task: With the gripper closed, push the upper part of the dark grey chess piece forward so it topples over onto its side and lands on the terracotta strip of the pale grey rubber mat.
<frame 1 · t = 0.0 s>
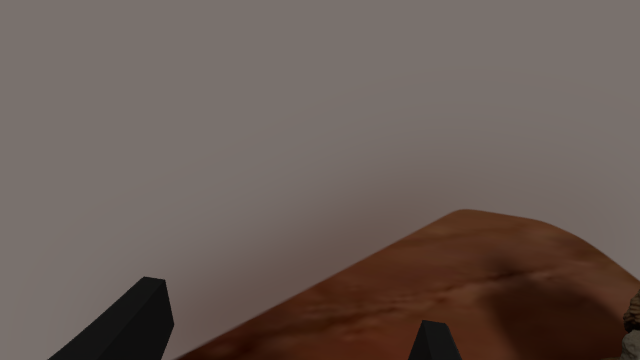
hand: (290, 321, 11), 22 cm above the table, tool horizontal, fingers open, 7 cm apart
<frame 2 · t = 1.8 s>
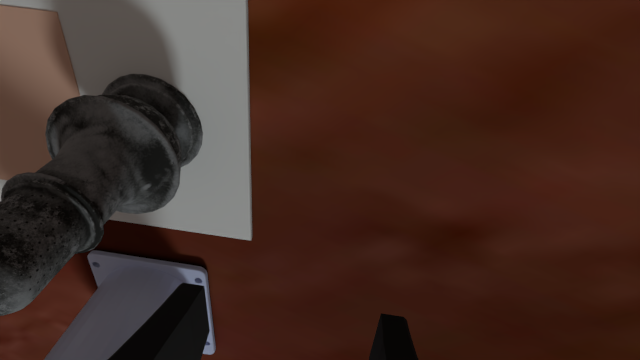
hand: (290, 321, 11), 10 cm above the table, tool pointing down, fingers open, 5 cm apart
mat: (43, 107, 20), on the table
dark grey chess piece: (153, 123, 20), resting on mat
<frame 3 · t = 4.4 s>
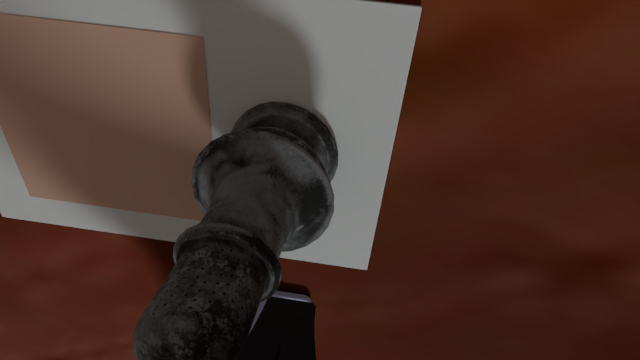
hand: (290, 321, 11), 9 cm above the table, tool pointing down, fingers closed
mat: (164, 134, 19), on the table
dark grey chess piece: (284, 152, 19), resting on mat, touching gripper
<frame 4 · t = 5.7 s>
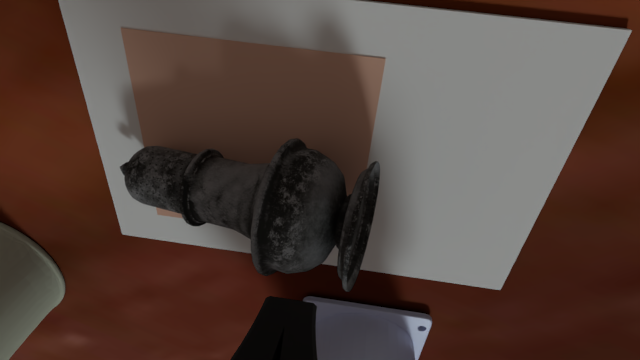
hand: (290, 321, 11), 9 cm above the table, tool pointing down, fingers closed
can: (1, 262, 27), on the table
mat: (315, 154, 19), on the table
dark grey chess piece: (369, 227, 16), point 4 cm above the table, touching mat
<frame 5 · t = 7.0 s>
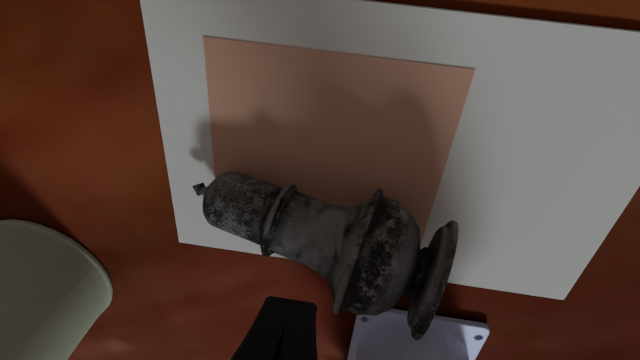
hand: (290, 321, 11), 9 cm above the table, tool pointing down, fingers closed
can: (48, 269, 27), on the table
mat: (388, 163, 19), on the table
dark grey chess piece: (439, 280, 17), point 4 cm above the table, touching mat
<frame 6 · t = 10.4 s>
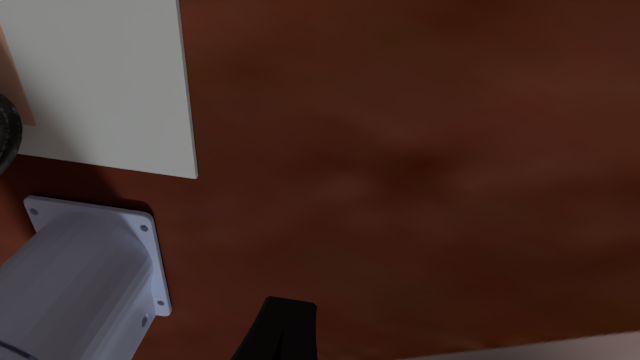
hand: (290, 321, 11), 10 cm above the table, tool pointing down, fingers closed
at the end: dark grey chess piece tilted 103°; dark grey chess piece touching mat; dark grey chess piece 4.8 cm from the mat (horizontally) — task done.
